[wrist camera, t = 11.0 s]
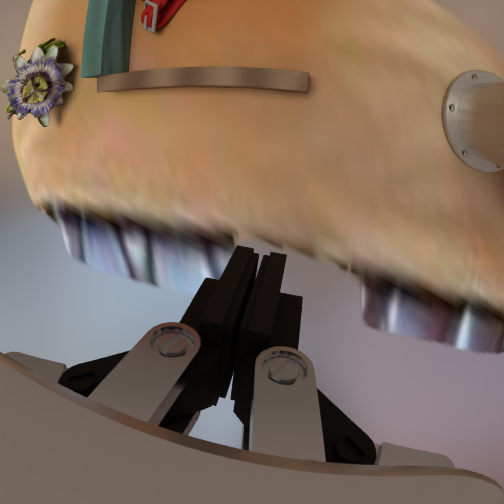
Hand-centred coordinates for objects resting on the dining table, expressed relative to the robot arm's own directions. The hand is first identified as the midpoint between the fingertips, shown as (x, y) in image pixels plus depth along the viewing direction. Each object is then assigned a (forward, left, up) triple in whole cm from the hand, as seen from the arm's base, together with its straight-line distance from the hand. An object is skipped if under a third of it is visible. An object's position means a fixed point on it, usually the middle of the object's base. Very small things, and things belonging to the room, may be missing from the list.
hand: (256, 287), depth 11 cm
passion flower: (+35, -11, -27) cm, 46 cm away
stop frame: (+12, -18, -26) cm, 34 cm away
